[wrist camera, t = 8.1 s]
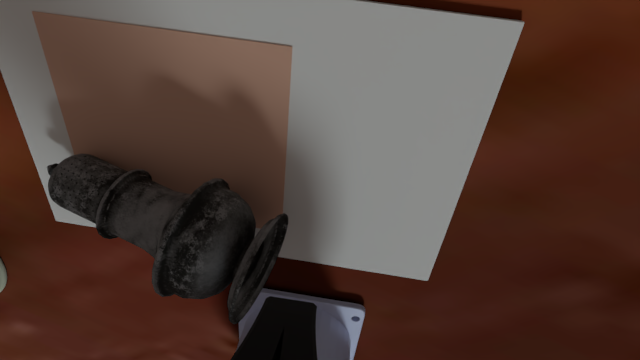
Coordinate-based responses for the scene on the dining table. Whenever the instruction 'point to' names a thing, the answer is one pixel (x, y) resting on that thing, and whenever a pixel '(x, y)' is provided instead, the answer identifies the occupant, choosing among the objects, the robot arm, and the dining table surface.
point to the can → (2, 276)
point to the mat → (270, 109)
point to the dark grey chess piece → (175, 229)
